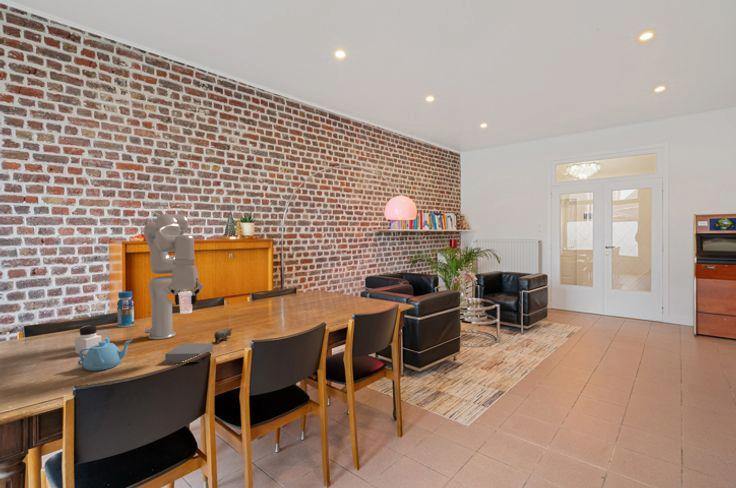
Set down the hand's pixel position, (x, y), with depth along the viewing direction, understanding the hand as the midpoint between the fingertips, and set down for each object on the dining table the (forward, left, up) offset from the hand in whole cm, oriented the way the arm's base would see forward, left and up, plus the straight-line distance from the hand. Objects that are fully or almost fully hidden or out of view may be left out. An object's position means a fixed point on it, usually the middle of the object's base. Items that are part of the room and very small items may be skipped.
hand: (186, 303), depth 161 cm
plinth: (+2, -2, -23) cm, 23 cm away
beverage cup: (0, 0, -4) cm, 4 cm away
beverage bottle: (-62, +56, -23) cm, 87 cm away
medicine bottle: (-48, +7, -23) cm, 54 cm away
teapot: (-28, -11, -23) cm, 38 cm away
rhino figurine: (+8, +24, -24) cm, 34 cm away
